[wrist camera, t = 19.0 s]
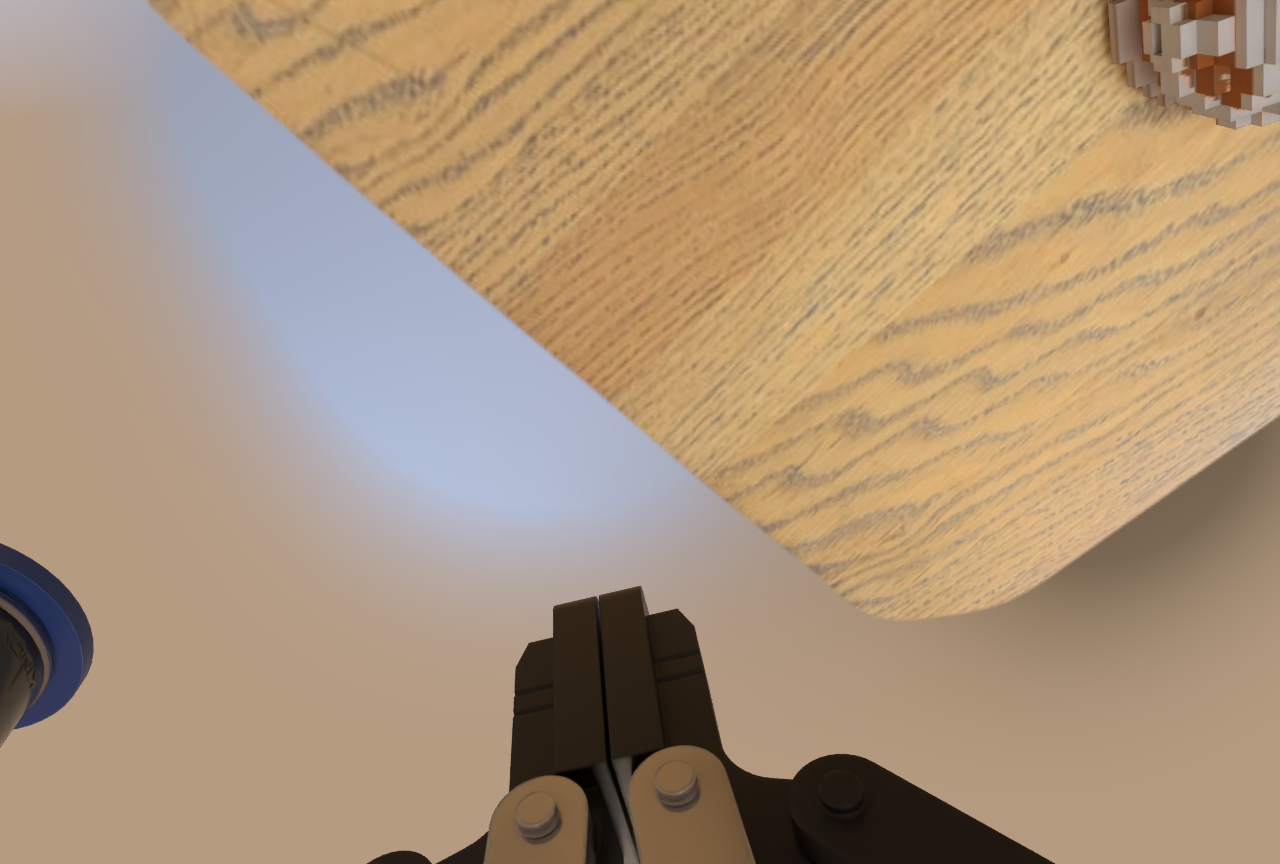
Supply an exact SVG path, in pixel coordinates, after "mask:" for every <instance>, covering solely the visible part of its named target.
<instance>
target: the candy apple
mask: <svg viewBox="0 0 1280 864" xmlns="http://www.w3.org/2000/svg"><path fill="white" fill-rule="evenodd" d="M1108 13H1109V27H1110V41H1111V55H1112V63H1114V64H1119V65H1120V64H1123V63H1126V64H1127V79H1128V87H1131V88H1139V87H1142V92H1143V96H1146V97H1150V98H1151V97H1154V96H1157V105H1160V106H1164V107H1166V106H1169V105H1172V104H1175V103H1177V104H1181V105H1185V109H1188V110H1192V113H1194V114H1198V115H1203V116H1207V117H1211V118H1215V119H1216V125H1220V126H1224V127H1228V128H1232V129H1239V128H1242V127H1245V126H1247V125H1250V124H1253V125H1257V126H1261V127H1262V126H1265V125H1268V124H1271V123H1274V122H1277V121H1279V120H1280V0H1117V1H1114V2H1111V3H1108Z"/></svg>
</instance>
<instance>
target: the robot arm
mask: <svg viewBox="0 0 1280 864" xmlns="http://www.w3.org/2000/svg"><path fill="white" fill-rule="evenodd" d="M54 668H55V652H54V648H53V644H52V641H51V638H50V636H49V634H48V632H47V630H46V629H45V627H44V625H43V624H42V623H41V621H40V620H39V619H38V617H37V616H36V615H35V614H34V613H33V612H32V611H31V610H30V609H29V608H28V607H27V606H26V605H25V604H24V603H23V602H21V601H20V600H19V599H18V598H16V597H15V596H14V595H12V594H11V593H9V592H8V591H6V590H4V589H3V588H1V587H0V747H1V746H2V744H3V743H4V741H5V740H6V738H7V737H8V736H9V734H10V733H11V732H12V730H13V729H14V727H15V726H16V725H17V723H18V722H19V720H20V719H21V718H22V716H23V715H24V714H25V712H26V711H27V710H28V709H29V708H30V707H31V706H32V705H33V704H34V703H35V702H36V701H37V700H38V698H39V697H40V695H41V694H42V693H43V691H44V690H45V689H46V687H47V686H48V684H49V682H50V680H51V678H52V676H53V673H54ZM514 692H515V697H514V710H513V711H514V717H513V729H512V749H511V767H510V786H509V793H508V794H507V795H506V796H505V797H504V798H503V799H502V800H501V801H500V803H499V804H498V806H497V807H496V809H495V811H494V813H493V815H492V818H491V821H490V826H489V831H488V832H486V833H485V835H483V836H482V837H481V838H480V839H478V840H477V841H476V842H474V843H473V844H471V845H470V846H468V847H466V848H464V849H463V850H461V851H459V852H457V853H455V854H453V855H451V856H449V857H448V858H446V859H444V860H442V861H440V862H438V863H436V864H1055V863H1053V862H1051V861H1049V860H1048V859H1046V858H1044V857H1042V856H1041V855H1039V854H1037V853H1035V852H1033V851H1032V850H1030V849H1028V848H1026V847H1024V846H1022V845H1021V844H1019V843H1017V842H1015V841H1014V840H1011V839H1010V838H1008V837H1006V836H1005V835H1003V834H1001V833H999V832H997V831H996V830H994V829H992V828H990V827H988V826H987V825H985V824H983V823H981V822H979V821H978V820H976V819H974V818H972V817H971V816H969V815H967V814H965V813H963V812H961V811H960V810H958V809H956V808H955V807H953V806H951V805H949V804H947V803H946V802H944V801H942V800H940V799H938V798H937V797H935V796H933V795H931V794H929V793H928V792H926V791H924V790H922V789H921V788H919V787H917V786H915V785H913V784H911V783H909V782H908V781H906V780H904V779H903V778H901V777H899V776H897V775H895V774H894V773H892V772H890V771H888V770H886V769H885V768H883V767H881V766H879V765H878V764H876V763H874V762H872V761H870V760H868V759H866V758H862V757H859V756H855V755H849V754H834V755H827V756H824V757H820V758H818V759H816V760H813V761H811V762H810V763H808V764H807V765H805V766H804V767H803V768H802V769H801V770H800V771H799V772H798V773H797V774H796V776H795V777H794V779H793V780H791V779H777V778H776V779H775V778H767V777H761V776H757V775H754V774H751V773H749V772H746V771H744V770H743V769H741V768H739V767H738V766H736V765H735V764H734V763H733V762H732V761H731V760H730V759H729V758H728V757H727V755H726V754H725V752H724V750H723V748H722V743H721V739H720V735H719V730H718V725H717V721H716V717H715V712H714V708H713V703H712V699H711V695H710V690H709V686H708V682H707V678H706V673H705V669H704V665H703V661H702V657H701V652H700V648H699V644H698V640H697V636H696V631H695V628H694V625H693V624H692V623H691V622H690V621H689V620H688V619H687V618H686V617H685V616H684V615H683V614H682V613H681V612H680V611H679V610H678V609H674V610H670V611H665V612H661V613H656V614H652V615H649V612H648V608H647V605H646V601H645V598H644V594H643V590H642V587H641V586H637V587H633V588H629V589H624V590H620V591H616V592H611V593H607V594H603V595H599V601H598V599H597V597H596V596H595V597H591V598H586V599H582V600H577V601H573V602H569V603H564V604H560V605H556V606H554V608H553V638H549V639H544V640H540V641H536V642H531V643H529V644H528V646H527V648H526V650H525V651H524V653H523V655H522V657H521V659H520V661H519V663H518V665H517V666H516V672H515V691H514ZM367 864H432V863H431V862H430V861H429V860H428V859H427V858H426V857H425V856H423V855H422V854H419V853H417V852H412V851H396V852H391V853H388V854H385V855H382V856H380V857H378V858H376V859H374V860H372V861H371V862H369V863H367Z"/></svg>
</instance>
